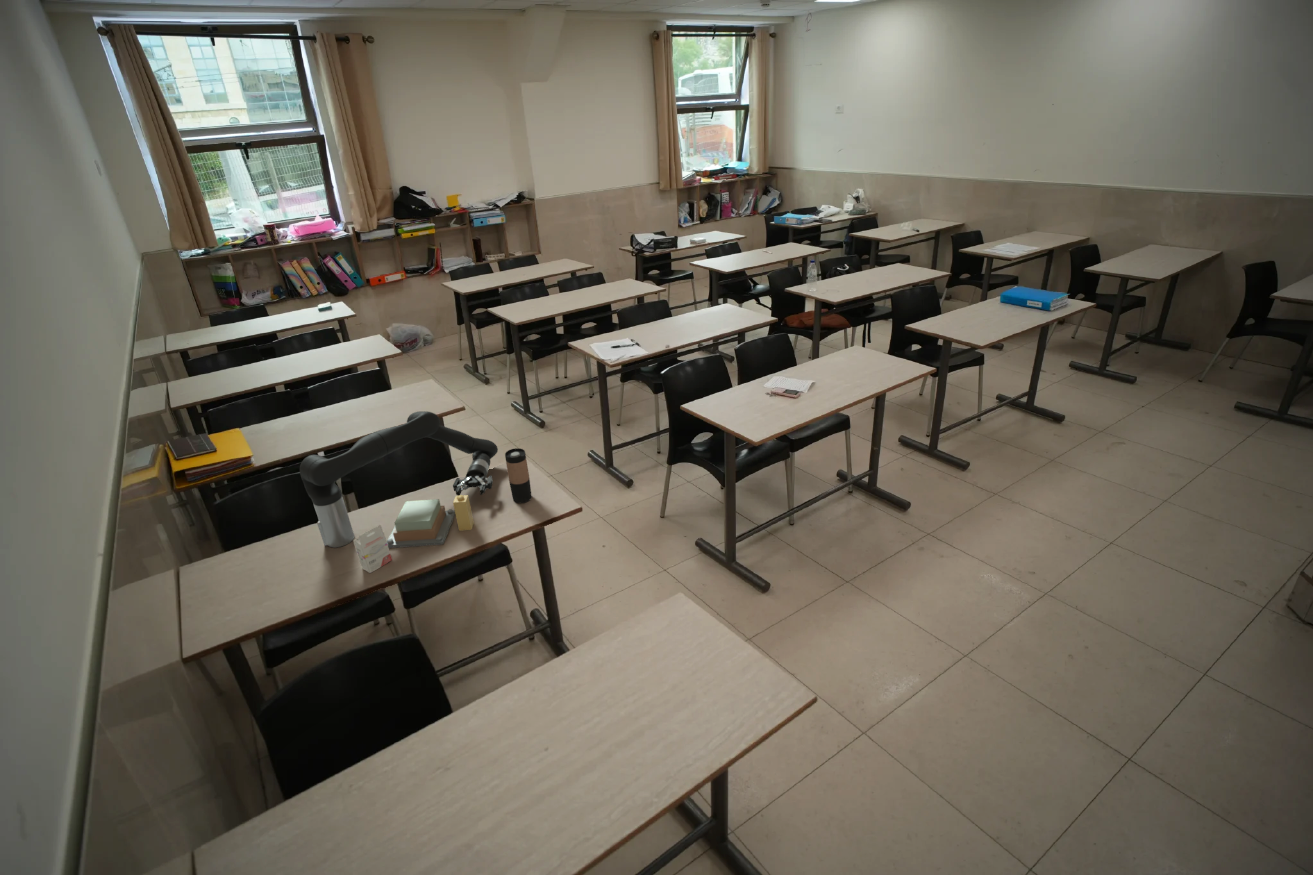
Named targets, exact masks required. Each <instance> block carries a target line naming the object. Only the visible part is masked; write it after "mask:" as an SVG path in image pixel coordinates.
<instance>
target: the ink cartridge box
mask: <svg viewBox="0 0 1313 875" xmlns="http://www.w3.org/2000/svg"><path fill="white" fill-rule="evenodd" d="M352 542H353V545H354V547H355V550H356V553H357V557H358V559H359V562H360V566H361V568H362V570H364V571H366V572H367V573H369V574H371V573H373V572H375V571H376V570H378V569H381V567H383V566H385V565H387V564H388V563H390V562H392V561H393V559H392V555H391V552H390V548H388V544H387V537H386V535H385V532H384V530H383V527H382V525H381V524H379V525H377V526H375V527H373V528H371V529H369V530H368V531H367V530H366V531H365V532H364V533H362V534H360V535H358V537H356V538H354V539H353V540H352Z"/></svg>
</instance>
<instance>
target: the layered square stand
mask: <svg viewBox="0 0 1313 875" xmlns="http://www.w3.org/2000/svg"><path fill="white" fill-rule="evenodd" d="M455 517H456V514H455V509H452V508H449V509H447V510H446V507H445V505H441V502H440V499H439V498H434V499H422V500H407V501H405V502H404V504H403V506H402V507H401V510H400V512H399V514H398V516H397V517H396V519H395V522H394V527H393V529H392V532H390V535H389V536H388V538H387V539H386V541H387V544H388V548H389V549H395V548H409V547H422V546H423V547H425V546H436V545H437V546H439V545H444V543H445V542H446V539H447V536H448V533H449V531H450V528H451V527H452V526H451V525H452V524H453V521H454V519H455Z"/></svg>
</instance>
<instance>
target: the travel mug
mask: <svg viewBox="0 0 1313 875" xmlns="http://www.w3.org/2000/svg"><path fill="white" fill-rule="evenodd" d="M504 458H505V464H506V470H507V476H508V481H509V487H510V491H511V496H512V500H513V502H514V503H516V504H525V503H528V502H530V501H531V499H532V487H531V478H530V474H529V473H530V472H529V468H528V461H527V455H526V450H525V449H523V448H518V447H517V448H511V449H509V450H507V451H506V452H505V453H504Z"/></svg>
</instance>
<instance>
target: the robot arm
mask: <svg viewBox="0 0 1313 875" xmlns="http://www.w3.org/2000/svg"><path fill="white" fill-rule="evenodd" d="M424 438H430V439H432V440H435V441H438V442H441V443H443V444H445V445H447V446H450V447H452V448H454V449H456V450H458V451H460V452H462V453H465V454H467V455H471V454H472V455H471V456H472V461H471V463H470V465H469V467H468V469H467V472H466V474H465V477H464V478H463V479H460V477H456V478H455V480H454V482H453V484H452V488H453V491H454V492H455V496H459V495H462V492H463V491H466V490H468V489H470V488H479V494H480V495H481V496H483V495H484V494H485V492H486V490H487V489H489V490H491V489H492V488H493V483H494V482H493V481H494V480H493V476H492V475H489V476H488V473H489V468H490V465H491V460H492V458H493V457H495V456H496V455H497V453H498V450H499V448H498V446H497V444H496V443H495V442H493V441H491V440H489V439H484V438H478V437H473V436H471V435H470V434H467V433H465V432H462V431H459V430H457V429H453V428H450V427H447V426H444V425H442V424H441V418H440V417H439V416H438V415H437V414H436V413H435V412H432V411H427V410H426V411H415V412H412V413H411V414H409V416H408V417H407V419H406V422H405V423H403V424H399V425H396V426H395V425H394V426H391V427H387V428H383V429H379V430H377V431H374V432H372V433H370V434H367V435H364V436H363V437H361V438H359V439H358V440H357V441H356V442H355V443H354V444H353V446H351V448H349V450H347V451H346V452H344V453H342V454H339V455H337V456H334V457H331V458H326V457H324V456H322V455H319V454H310V455H308V456H306V457H305V458H304V459H303V460H302V461H301V463H300V466H299V475H300V477H301V481H302V483H303V485H304V488H305V491H306V493H307V495H308V497H309V498H310V499H311V502H312V503H313V507H314V510H315V513H316V515H317V519H318V521H317V523H316V524H317V527H318V530H319V533H320V537H321V540H322V543H323V546H325V547H326V546H328V547H329V548H340V547H344V546H346V545H348V544H350V543H351V542H353V540H354V539H355V533H354V529H353V526H352V523H351V520H350V517H349V514H348V510H347V507H346V503H345V501H344V497H343V494H342V492H341V488H340V487H339V486H338V485H337V484H336V483H335V482H337V481H338V480H340V479H342V478H343V477H345V476H346V475H347V476H348V475H349V474H350V473H352V472H354V471H355V470H357V469H359V468H360V469H361V468H362V467H364V466H365V465H367V464H370V463H372V462H375V461H377V460H379V459H382V458H383V457H386V456H387V455H390V454H392V453H393V452H396V451H397V450H399V449H402V448H403V447H405V446H406V445H409V444H411V443H412V442H415V441H418V440H420V439H424ZM487 476H488V477H487Z"/></svg>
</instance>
